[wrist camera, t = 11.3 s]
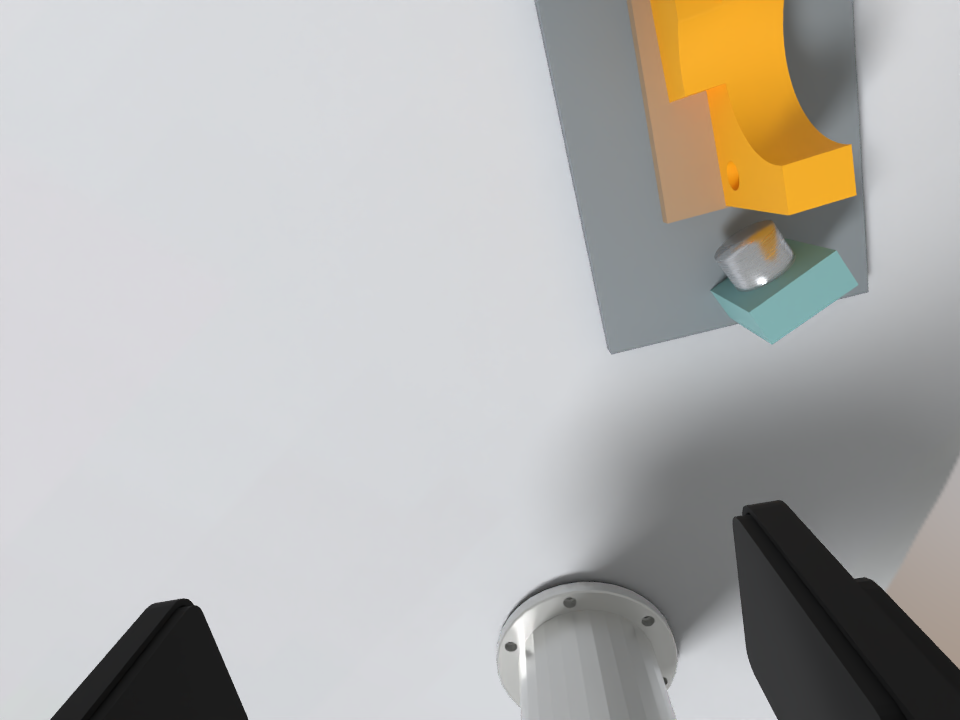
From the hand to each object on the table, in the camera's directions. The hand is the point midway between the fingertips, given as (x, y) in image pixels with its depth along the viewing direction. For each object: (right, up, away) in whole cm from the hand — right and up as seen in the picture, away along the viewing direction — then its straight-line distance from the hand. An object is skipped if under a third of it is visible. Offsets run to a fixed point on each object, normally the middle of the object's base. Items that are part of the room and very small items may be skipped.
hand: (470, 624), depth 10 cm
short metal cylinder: (+14, +9, +20) cm, 26 cm away
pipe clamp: (+11, +18, +17) cm, 27 cm away
